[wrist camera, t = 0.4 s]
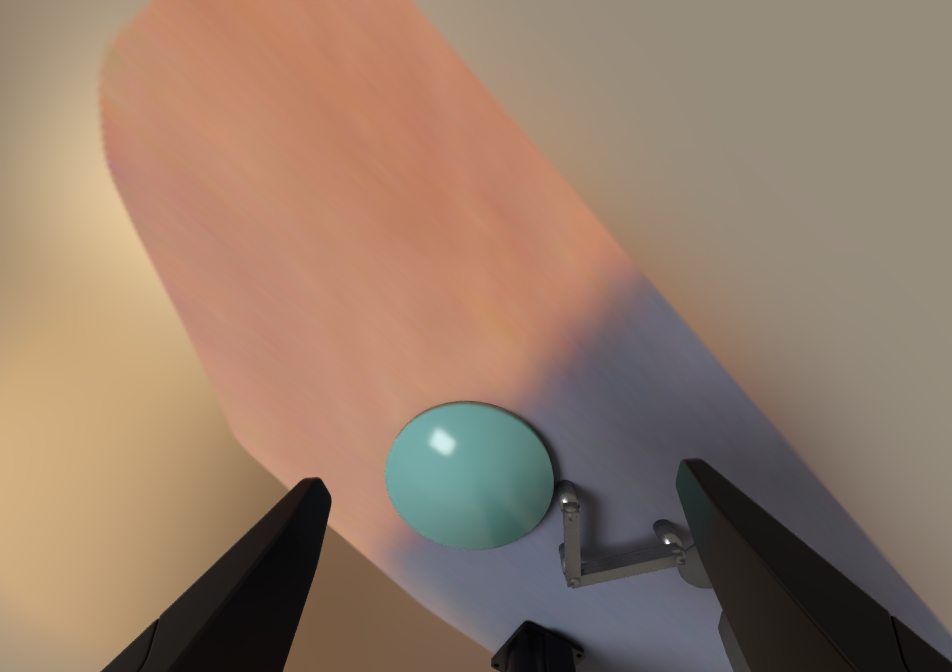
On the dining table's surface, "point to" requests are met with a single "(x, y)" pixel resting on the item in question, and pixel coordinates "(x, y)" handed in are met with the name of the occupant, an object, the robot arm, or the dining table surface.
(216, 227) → the dining table surface
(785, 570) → the robot arm
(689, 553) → the sundae
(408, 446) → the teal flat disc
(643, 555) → the jointed flat metal bars
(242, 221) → the dining table surface
